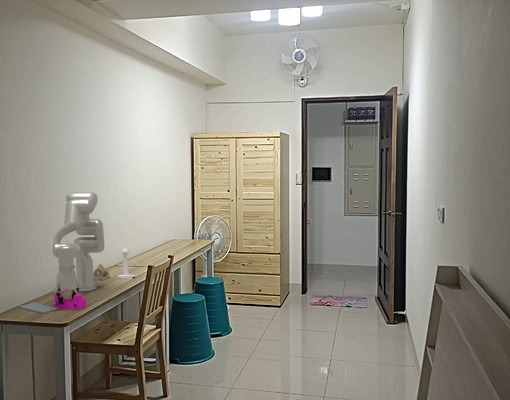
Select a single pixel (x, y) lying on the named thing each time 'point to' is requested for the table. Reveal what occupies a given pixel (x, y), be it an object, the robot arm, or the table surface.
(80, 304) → the toy block
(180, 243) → the table surface
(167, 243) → the table surface
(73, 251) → the robot arm
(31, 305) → the mat
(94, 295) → the table surface
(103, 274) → the ceramic model
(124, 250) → the joystick
